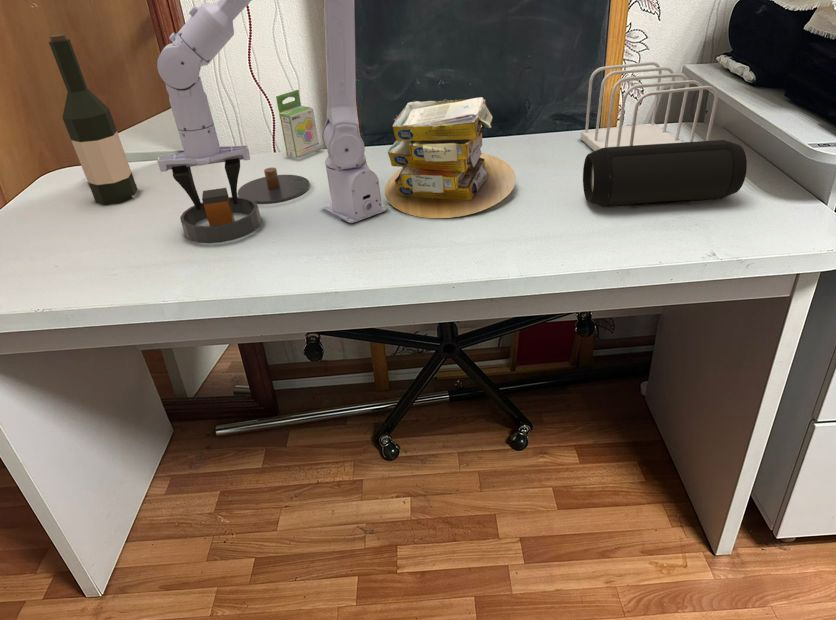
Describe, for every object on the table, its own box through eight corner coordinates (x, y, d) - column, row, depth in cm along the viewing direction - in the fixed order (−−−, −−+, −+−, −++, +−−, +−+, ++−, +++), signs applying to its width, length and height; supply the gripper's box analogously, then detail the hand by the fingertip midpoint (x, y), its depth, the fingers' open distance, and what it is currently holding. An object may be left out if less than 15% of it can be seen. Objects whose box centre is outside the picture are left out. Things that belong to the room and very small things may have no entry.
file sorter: (579, 140, 140) (586, 65, 131) (653, 132, 142) (664, 58, 133) (624, 178, 120) (635, 94, 111) (709, 169, 122) (726, 84, 113)
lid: (323, 191, 123) (320, 168, 121) (259, 213, 116) (253, 189, 114) (288, 174, 133) (284, 152, 130) (227, 193, 126) (221, 170, 123)
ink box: (298, 160, 139) (287, 98, 132) (286, 158, 142) (274, 96, 134) (321, 151, 144) (310, 90, 136) (309, 149, 146) (298, 88, 138)
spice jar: (235, 221, 113) (226, 187, 109) (235, 229, 110) (226, 195, 106) (212, 224, 112) (202, 190, 108) (211, 233, 109) (201, 199, 105)
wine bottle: (123, 205, 123) (61, 39, 106) (86, 204, 125) (20, 40, 107) (146, 189, 130) (92, 30, 112) (111, 188, 131) (53, 31, 114)
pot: (274, 228, 110) (270, 210, 108) (204, 253, 104) (198, 234, 102) (241, 208, 119) (237, 191, 117) (174, 230, 112) (169, 212, 110)
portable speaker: (717, 186, 115) (729, 131, 109) (740, 207, 106) (755, 149, 101) (579, 195, 115) (584, 140, 109) (592, 217, 107) (598, 159, 101)
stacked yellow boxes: (480, 227, 106) (479, 128, 96) (360, 206, 116) (348, 114, 107) (534, 178, 123) (537, 89, 113) (425, 163, 133) (420, 80, 124)
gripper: (146, 138, 96) (172, 220, 104) (241, 126, 99) (260, 207, 107) (150, 126, 102) (175, 204, 110) (241, 115, 104) (259, 192, 112)
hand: (217, 205), depth 109 cm, fingers open, 6 cm apart
